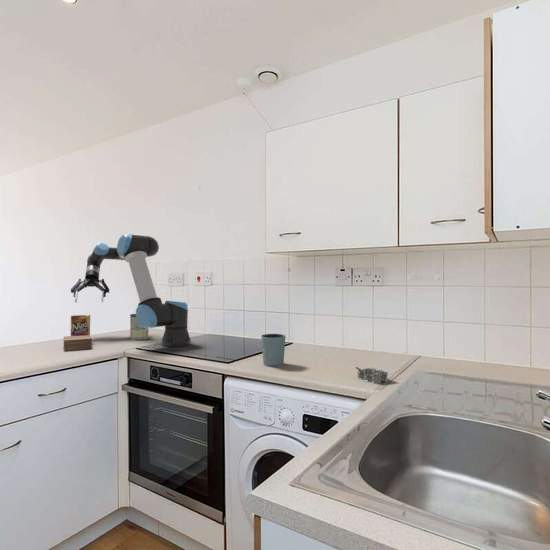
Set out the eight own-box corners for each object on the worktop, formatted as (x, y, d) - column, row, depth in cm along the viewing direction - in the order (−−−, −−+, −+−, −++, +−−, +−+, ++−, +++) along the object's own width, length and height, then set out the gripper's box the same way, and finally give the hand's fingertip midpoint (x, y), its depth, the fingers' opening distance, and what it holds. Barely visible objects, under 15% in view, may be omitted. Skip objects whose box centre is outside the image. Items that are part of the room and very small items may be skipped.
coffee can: (127, 337, 218) (127, 314, 218) (144, 336, 224) (145, 313, 224) (133, 340, 210) (133, 315, 210) (151, 338, 216) (151, 314, 216)
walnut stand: (91, 348, 184) (91, 338, 184) (64, 350, 178) (64, 340, 178) (89, 344, 196) (89, 334, 196) (63, 346, 190) (63, 336, 190)
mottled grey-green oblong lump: (354, 377, 134) (354, 366, 134) (369, 375, 137) (369, 364, 137) (375, 385, 124) (375, 372, 124) (391, 382, 128) (391, 370, 128)
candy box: (70, 344, 196) (70, 315, 196) (72, 342, 200) (72, 314, 200) (88, 343, 198) (88, 315, 198) (90, 342, 202) (90, 314, 202)
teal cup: (287, 362, 156) (288, 334, 156) (281, 368, 146) (282, 337, 146) (265, 360, 159) (265, 333, 159) (257, 366, 149) (257, 336, 149)
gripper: (114, 278, 231) (113, 304, 217) (69, 278, 222) (65, 305, 208) (114, 270, 226) (112, 296, 212) (68, 269, 217) (63, 296, 203)
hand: (89, 300), depth 210 cm, fingers open, 13 cm apart
